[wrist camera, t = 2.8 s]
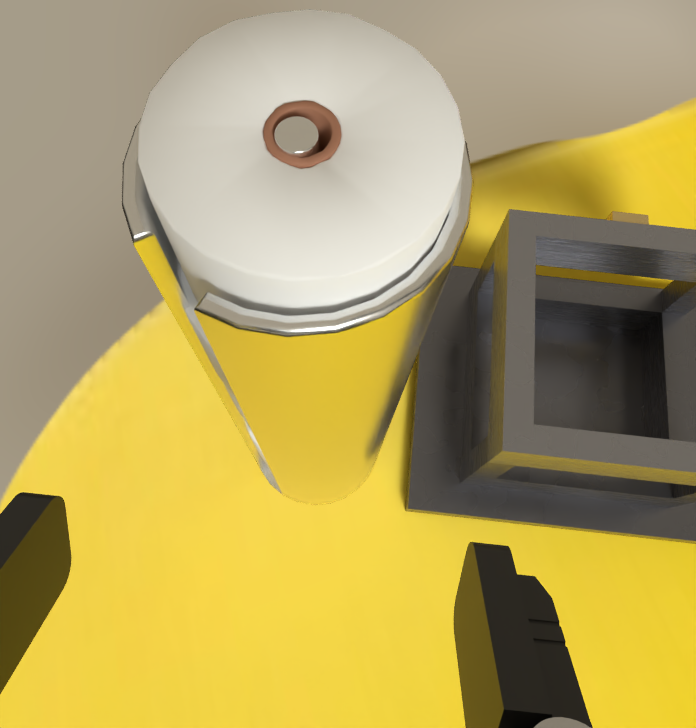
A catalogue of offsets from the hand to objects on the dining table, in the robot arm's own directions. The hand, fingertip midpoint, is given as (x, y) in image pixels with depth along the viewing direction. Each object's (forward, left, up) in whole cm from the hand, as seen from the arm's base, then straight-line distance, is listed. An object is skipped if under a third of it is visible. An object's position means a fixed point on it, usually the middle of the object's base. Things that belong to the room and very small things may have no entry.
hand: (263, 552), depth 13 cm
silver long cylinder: (0, -7, -21) cm, 22 cm away
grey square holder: (-13, -11, -21) cm, 27 cm away
